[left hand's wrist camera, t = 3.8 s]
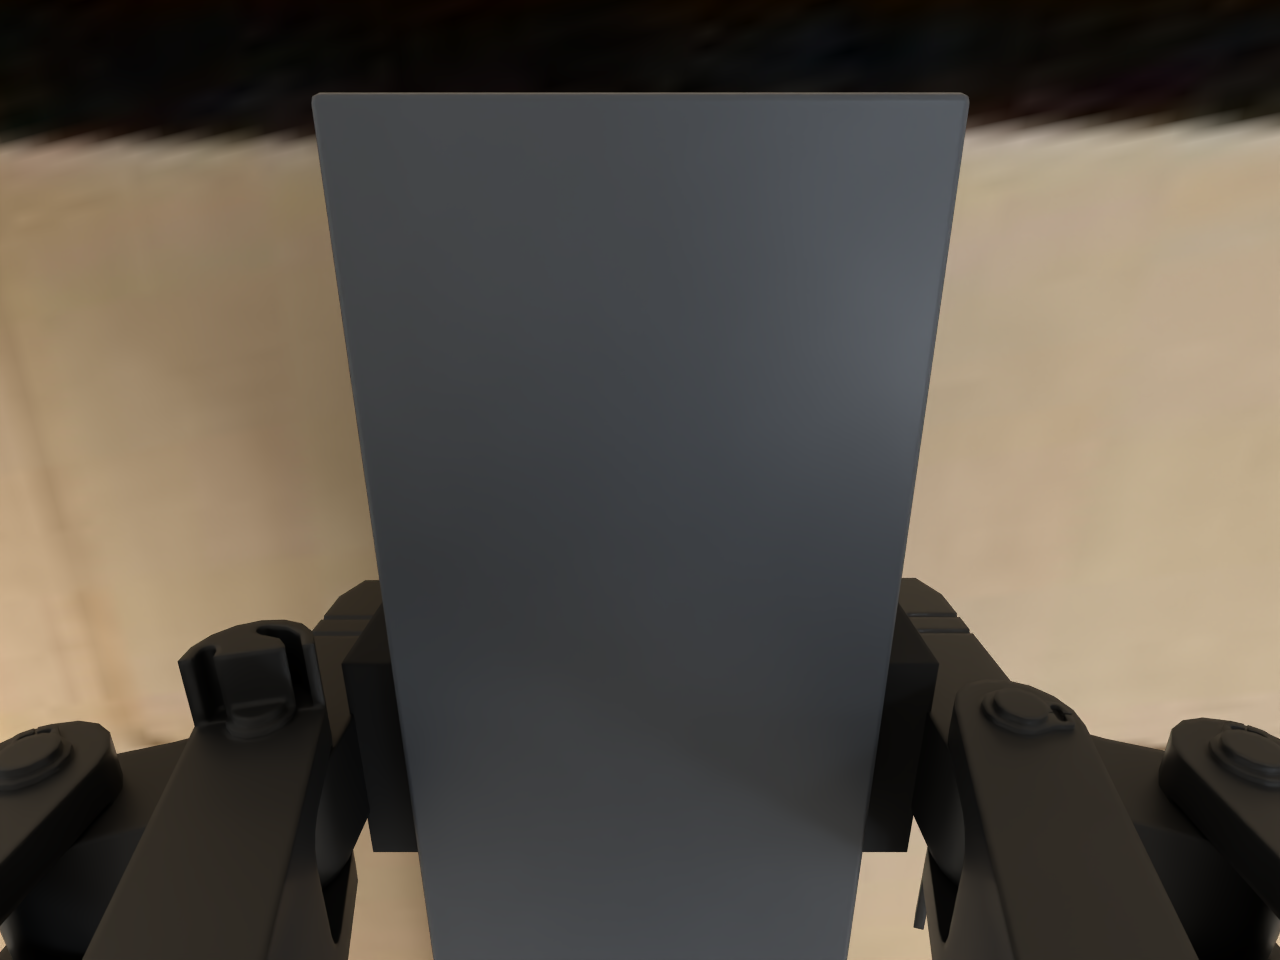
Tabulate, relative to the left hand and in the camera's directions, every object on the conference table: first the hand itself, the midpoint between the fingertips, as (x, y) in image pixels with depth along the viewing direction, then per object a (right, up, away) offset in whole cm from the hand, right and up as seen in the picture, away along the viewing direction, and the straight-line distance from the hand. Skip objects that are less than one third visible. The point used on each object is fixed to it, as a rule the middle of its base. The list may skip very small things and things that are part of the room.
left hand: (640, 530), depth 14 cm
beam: (0, -18, +7) cm, 19 cm away
